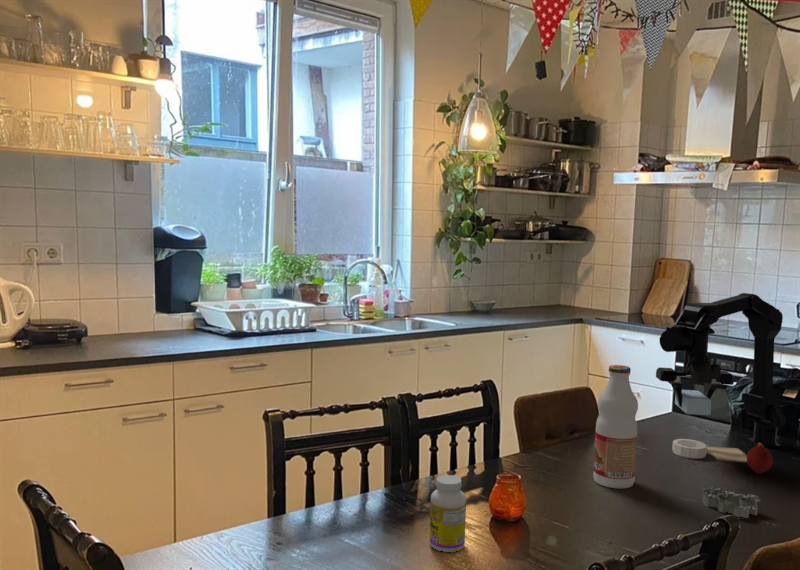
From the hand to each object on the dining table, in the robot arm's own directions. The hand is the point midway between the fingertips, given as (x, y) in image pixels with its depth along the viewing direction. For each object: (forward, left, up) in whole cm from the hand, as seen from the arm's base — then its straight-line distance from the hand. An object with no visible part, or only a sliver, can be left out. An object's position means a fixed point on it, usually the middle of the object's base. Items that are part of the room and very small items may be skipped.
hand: (692, 407), depth 186 cm
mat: (-1, +11, -13) cm, 17 cm away
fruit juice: (+26, -25, -13) cm, 38 cm away
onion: (+13, +13, -13) cm, 23 cm away
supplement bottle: (+66, -63, -13) cm, 92 cm away
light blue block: (0, 0, 0) cm, 0 cm away
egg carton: (+38, -3, -13) cm, 40 cm away
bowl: (0, 0, -13) cm, 13 cm away
